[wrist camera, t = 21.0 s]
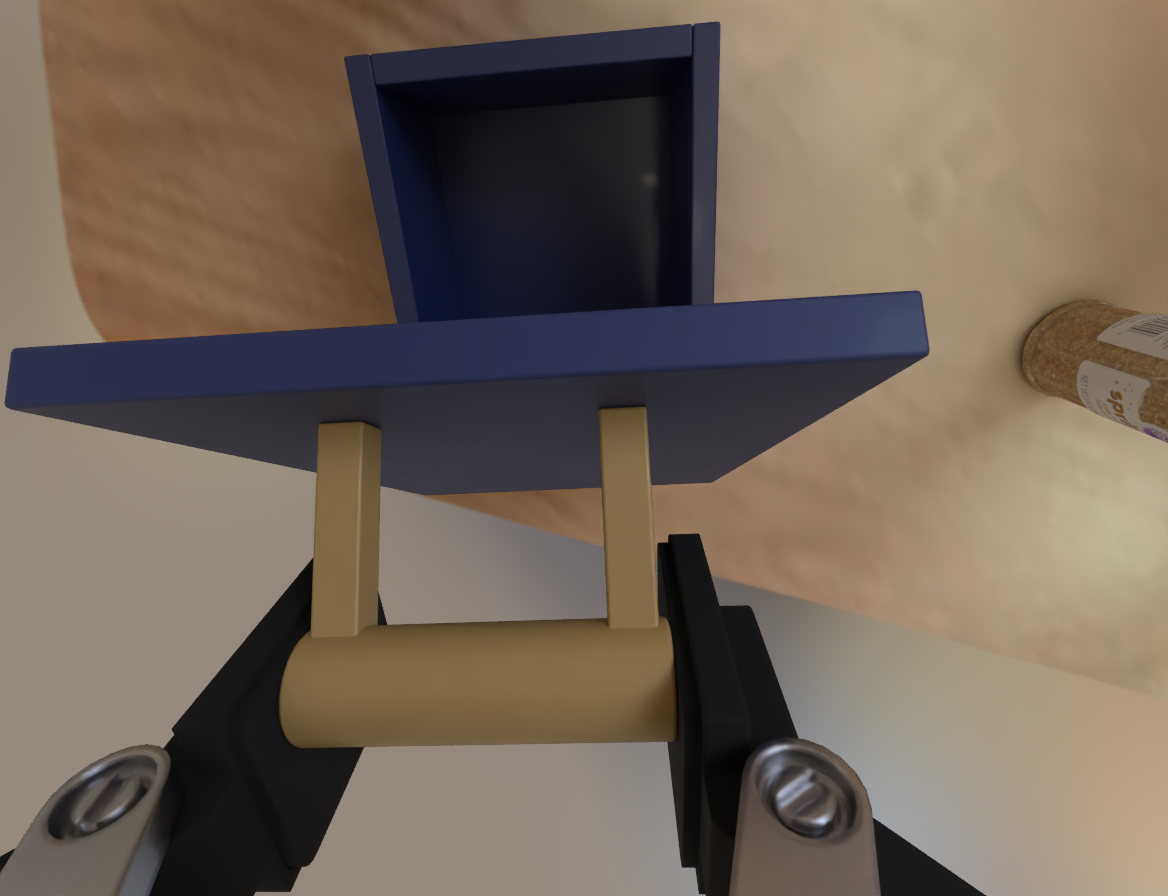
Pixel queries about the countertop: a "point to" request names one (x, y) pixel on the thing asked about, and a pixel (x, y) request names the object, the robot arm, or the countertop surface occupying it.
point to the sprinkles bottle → (1104, 362)
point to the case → (544, 172)
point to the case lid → (488, 478)
